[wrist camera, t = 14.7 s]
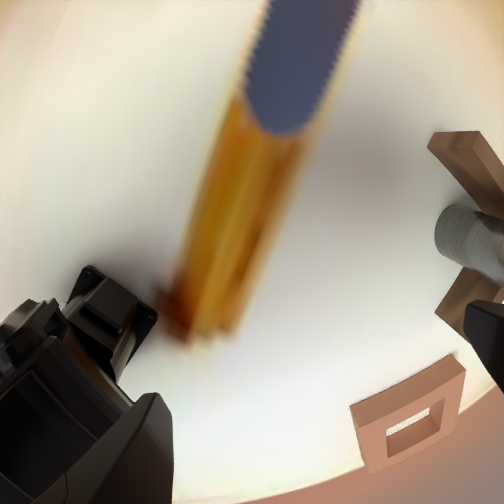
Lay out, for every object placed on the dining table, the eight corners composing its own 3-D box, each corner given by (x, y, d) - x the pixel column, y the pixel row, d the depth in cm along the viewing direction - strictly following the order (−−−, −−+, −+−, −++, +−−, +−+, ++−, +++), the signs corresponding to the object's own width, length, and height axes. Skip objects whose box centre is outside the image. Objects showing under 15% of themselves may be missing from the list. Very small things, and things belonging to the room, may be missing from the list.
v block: (433, 322, 23) (464, 351, 18) (424, 133, 18) (469, 131, 13) (500, 289, 23) (531, 308, 18) (499, 129, 18) (538, 130, 13)
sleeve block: (361, 457, 28) (369, 474, 26) (349, 406, 25) (359, 427, 22) (443, 415, 28) (453, 430, 25) (450, 353, 24) (465, 369, 21)
